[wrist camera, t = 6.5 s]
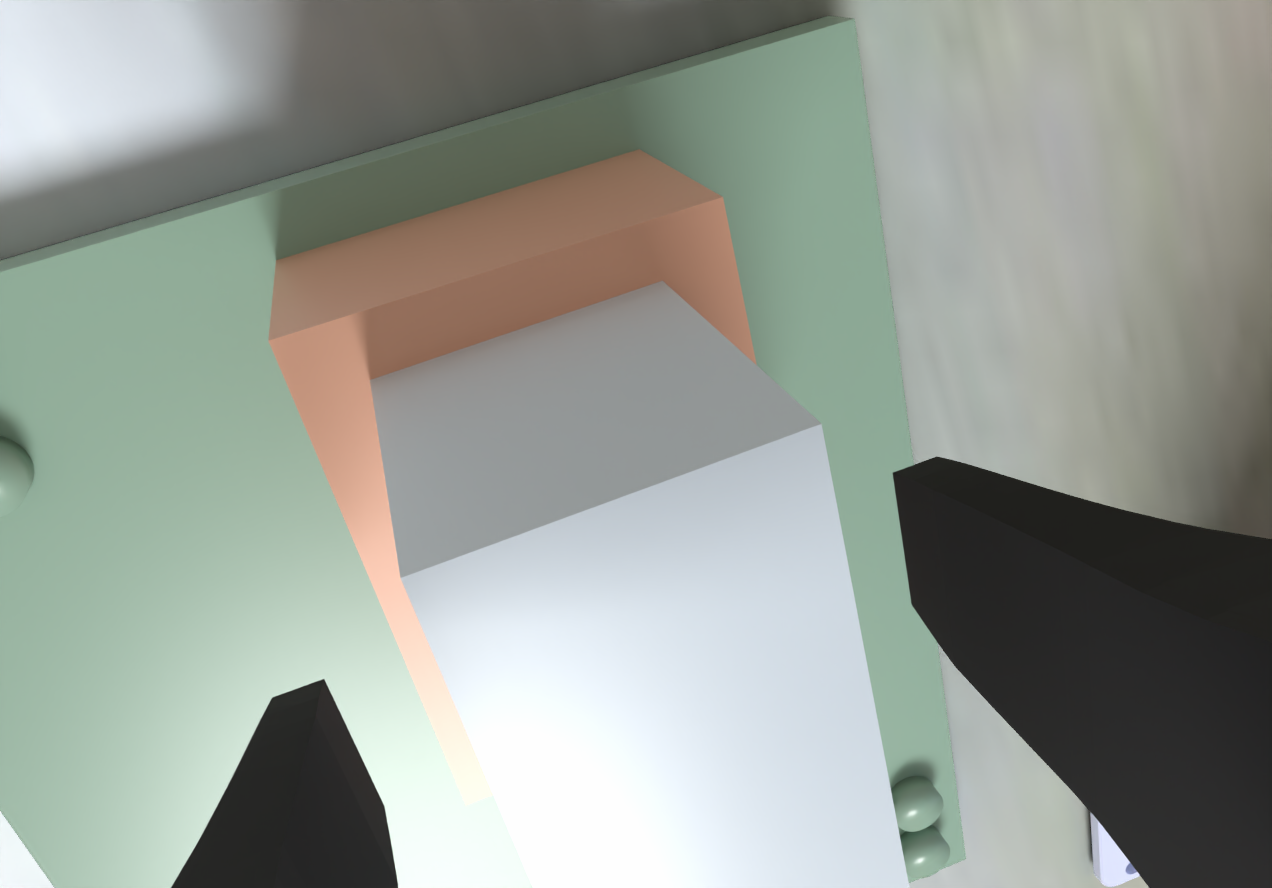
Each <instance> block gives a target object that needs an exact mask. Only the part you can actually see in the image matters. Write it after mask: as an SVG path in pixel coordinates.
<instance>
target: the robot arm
mask: <svg viewBox="0 0 1272 888" xmlns="http://www.w3.org/2000/svg"><path fill="white" fill-rule="evenodd" d="M893 480H894V487H895V494H896V501H897V508H898V514H899V521H900V528H901V535H902V542H903V549H904V556H905V563H906V570H907V577H908V583H909V590H910V597H911V604H912V606H913V608H914V609H915V610H916V612H917V613H918V615H919V616H920V618H921V619H922V621H923V622H924V624H925V625H926V627H927V628H928V629H929V631H930V632H931V634H932V635H933V637H934V638H935V640H936V641H937V642H938V644H939V645H940V646H941V648H942V649H943V651H944V652H945V653H946V655H947V656H948V657H949V659H950V660H951V661H952V663H953V664H954V666H955V667H956V668H957V669H958V670H959V671H960V672H961V673H962V674H963V676H964V677H965V678H966V679H967V680H968V681H969V682H970V683H971V684H972V685H973V686H974V687H975V689H976V690H977V691H978V692H979V693H980V694H981V695H982V696H983V697H984V698H985V699H986V700H987V701H988V703H989V704H990V705H991V706H992V707H993V708H994V709H995V710H996V711H997V712H998V713H999V714H1000V715H1001V716H1002V717H1003V718H1004V720H1005V721H1006V722H1007V723H1008V724H1009V725H1010V726H1011V727H1012V728H1013V729H1014V730H1015V731H1016V732H1017V733H1018V734H1019V735H1020V736H1021V737H1022V738H1023V740H1024V741H1025V742H1026V743H1027V744H1028V745H1029V746H1030V747H1031V748H1032V749H1033V750H1034V751H1035V752H1036V753H1037V754H1038V755H1039V756H1040V757H1041V759H1042V760H1043V761H1044V762H1045V763H1046V764H1047V765H1048V766H1049V767H1050V768H1051V769H1052V770H1053V771H1054V772H1055V773H1056V774H1057V775H1058V776H1059V778H1060V779H1061V780H1062V781H1063V782H1064V783H1065V784H1066V785H1067V786H1068V787H1069V788H1070V789H1071V790H1072V791H1073V792H1074V794H1075V795H1076V796H1077V797H1078V798H1079V799H1080V800H1081V802H1082V803H1083V804H1084V805H1085V806H1086V807H1087V808H1088V810H1089V811H1090V815H1091V833H1092V851H1093V869H1094V874H1095V876H1096V877H1097V878H1098V880H1099V881H1100V882H1101V883H1102V884H1103V885H1105V886H1109V887H1113V886H1117V885H1120V884H1122V883H1124V882H1127V881H1129V880H1131V879H1134V878H1136V877H1138V876H1141V877H1142V879H1143V880H1144V881H1145V883H1146V884H1147V885H1148V886H1149V888H1272V539H1266V538H1259V537H1253V536H1247V535H1241V534H1235V533H1229V532H1223V531H1217V530H1211V529H1206V528H1201V527H1196V526H1191V525H1186V524H1181V523H1176V522H1171V521H1167V520H1163V519H1159V518H1155V517H1150V516H1146V515H1142V514H1138V513H1134V512H1129V511H1125V510H1121V509H1118V508H1114V507H1110V506H1106V505H1103V504H1099V503H1095V502H1092V501H1088V500H1084V499H1081V498H1077V497H1074V496H1070V495H1067V494H1064V493H1060V492H1057V491H1053V490H1050V489H1047V488H1044V487H1040V486H1037V485H1034V484H1030V483H1027V482H1024V481H1021V480H1017V479H1014V478H1011V477H1008V476H1005V475H1001V474H998V473H995V472H992V471H988V470H985V469H982V468H978V467H975V466H972V465H968V464H965V463H961V462H957V461H953V460H949V459H945V458H941V457H935V458H932V459H929V460H926V461H924V462H921V463H918V464H915V465H913V466H910V467H907V468H904V469H901V470H899V471H896V472H893ZM171 888H398V881H397V875H396V869H395V863H394V856H393V850H392V845H391V839H390V834H389V828H388V823H387V817H386V812H385V806H384V804H383V802H382V800H381V798H380V796H379V794H378V791H377V789H376V787H375V785H374V783H373V781H372V779H371V777H370V775H369V772H368V770H367V768H366V766H365V764H364V762H363V760H362V758H361V756H360V753H359V751H358V749H357V747H356V745H355V743H354V741H353V739H352V737H351V734H350V732H349V730H348V728H347V726H346V724H345V722H344V720H343V717H342V715H341V713H340V711H339V709H338V707H337V705H336V703H335V701H334V698H333V696H332V694H331V692H330V690H329V688H328V686H327V684H326V682H325V679H322V680H319V681H316V682H314V683H311V684H308V685H305V686H303V687H300V688H297V689H294V690H292V691H289V692H286V693H283V694H281V695H278V696H275V697H272V699H271V701H270V703H269V704H268V706H267V708H266V710H265V712H264V714H263V716H262V718H261V720H260V721H259V723H258V725H257V727H256V730H255V732H254V734H253V736H252V738H251V740H250V742H249V744H248V746H247V748H246V750H245V752H244V754H243V756H242V758H241V760H240V762H239V764H238V766H237V768H236V770H235V772H234V774H233V776H232V778H231V780H230V782H229V784H228V786H227V788H226V790H225V792H224V794H223V796H222V798H221V799H220V801H219V803H218V805H217V807H216V809H215V811H214V813H213V815H212V816H211V818H210V820H209V822H208V824H207V826H206V828H205V830H204V832H203V833H202V835H201V837H200V839H199V841H198V843H197V844H196V846H195V848H194V850H193V851H192V853H191V855H190V856H189V858H188V860H187V861H186V863H185V865H184V866H183V868H182V870H181V871H180V873H179V875H178V877H177V878H176V880H175V882H174V883H173V885H172V887H171Z"/></svg>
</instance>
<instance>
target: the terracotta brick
mask: <svg viewBox="0 0 1272 888" xmlns="http://www.w3.org/2000/svg"><path fill="white" fill-rule="evenodd" d="M660 281H664V282H665V283H666V284H667V285H668V286H669V287H670V288H671V289H673V290H674V291H675V292H676V293H677V294H678V295H679V296H680V297H681V298H682V299H684V300H685V301H686V302H687V303H688V304H689V305H690V306H691V307H692V308H694V309H695V310H696V311H697V312H698V313H699V314H700V315H701V316H702V317H704V318H705V319H706V320H707V321H708V322H709V323H710V324H711V325H712V326H714V327H715V328H716V329H717V330H718V331H719V332H720V333H721V334H722V335H724V336H725V337H726V338H727V339H728V340H729V341H730V342H731V343H732V344H734V345H735V346H736V347H737V348H738V349H739V350H740V351H741V352H742V353H744V354H745V355H746V356H747V357H748V358H749V359H750V360H751V361H752V362H754V363H755V364H756V359H755V354H754V349H753V344H752V339H751V334H750V329H749V324H748V319H747V314H746V309H745V304H744V299H743V294H742V289H741V284H740V279H739V274H738V269H737V264H736V259H735V254H734V249H733V244H732V239H731V234H730V229H729V224H728V220H727V215H726V210H725V205H724V200H723V197H722V196H720V195H719V194H717V193H715V192H713V191H712V190H710V189H708V188H706V187H705V186H703V185H701V184H699V183H698V182H696V181H694V180H692V179H691V178H689V177H687V176H685V175H684V174H682V173H680V172H678V171H677V170H675V169H673V168H671V167H670V166H668V165H666V164H664V163H663V162H661V161H659V160H657V159H656V158H654V157H652V156H650V155H649V154H647V153H645V152H643V151H642V150H640V149H638V150H635V151H632V152H629V153H625V154H622V155H619V156H615V157H612V158H609V159H606V160H602V161H599V162H596V163H593V164H589V165H586V166H583V167H580V168H576V169H573V170H570V171H566V172H563V173H560V174H557V175H553V176H550V177H547V178H544V179H540V180H537V181H534V182H531V183H527V184H524V185H521V186H517V187H514V188H511V189H508V190H504V191H501V192H498V193H495V194H491V195H488V196H485V197H482V198H478V199H475V200H472V201H468V202H465V203H462V204H459V205H455V206H452V207H449V208H446V209H442V210H439V211H436V212H433V213H429V214H426V215H423V216H419V217H416V218H413V219H410V220H406V221H403V222H400V223H397V224H393V225H390V226H387V227H384V228H380V229H377V230H374V231H370V232H367V233H364V234H361V235H357V236H354V237H351V238H348V239H344V240H341V241H338V242H335V243H331V244H328V245H325V246H321V247H318V248H315V249H312V250H308V251H305V252H302V253H299V254H295V255H292V256H289V257H285V258H282V259H279V260H276V265H275V275H274V286H273V297H272V307H271V318H270V328H269V339H268V341H269V344H270V346H271V348H272V351H273V353H274V355H275V358H276V360H277V362H278V365H279V367H280V370H281V372H282V374H283V377H284V379H285V381H286V384H287V386H288V388H289V391H290V393H291V395H292V398H293V400H294V402H295V405H296V407H297V409H298V412H299V414H300V417H301V419H302V421H303V424H304V426H305V428H306V431H307V433H308V435H309V438H310V440H311V442H312V445H313V447H314V449H315V452H316V454H317V456H318V459H319V461H320V464H321V466H322V468H323V471H324V473H325V475H326V478H327V480H328V482H329V485H330V487H331V489H332V492H333V494H334V496H335V499H336V501H337V503H338V506H339V508H340V511H341V513H342V515H343V518H344V520H345V522H346V525H347V527H348V529H349V532H350V534H351V536H352V539H353V541H354V543H355V546H356V548H357V550H358V553H359V555H360V558H361V560H362V562H363V565H364V567H365V569H366V572H367V574H368V576H369V579H370V581H371V583H372V586H373V588H374V590H375V593H376V595H377V597H378V600H379V602H380V605H381V607H382V609H383V612H384V614H385V616H386V619H387V621H388V623H389V626H390V628H391V630H392V633H393V635H394V637H395V640H396V642H397V644H398V647H399V649H400V652H401V654H402V656H403V659H404V661H405V663H406V666H407V668H408V670H409V673H410V675H411V677H412V680H413V682H414V684H415V687H416V689H417V691H418V694H419V696H420V699H421V701H422V703H423V706H424V708H425V710H426V713H427V715H428V717H429V720H430V722H431V724H432V727H433V729H434V731H435V734H436V736H437V738H438V741H439V743H440V746H441V748H442V750H443V753H444V755H445V757H446V760H447V762H448V764H449V767H450V769H451V771H452V774H453V776H454V778H455V781H456V783H457V785H458V788H459V790H460V793H461V795H462V797H463V800H464V802H465V804H466V805H468V804H471V803H473V802H476V801H478V800H481V799H483V798H486V797H489V796H491V795H493V793H492V791H491V789H490V786H489V784H488V782H487V779H486V777H485V775H484V772H483V770H482V768H481V765H480V763H479V761H478V758H477V756H476V754H475V751H474V749H473V747H472V744H471V742H470V740H469V737H468V735H467V733H466V730H465V728H464V726H463V723H462V721H461V718H460V716H459V714H458V711H457V709H456V707H455V704H454V702H453V700H452V697H451V695H450V693H449V690H448V688H447V686H446V683H445V681H444V679H443V676H442V674H441V672H440V669H439V667H438V665H437V662H436V660H435V658H434V655H433V653H432V651H431V648H430V646H429V644H428V641H427V639H426V637H425V634H424V632H423V630H422V627H421V625H420V623H419V620H418V618H417V616H416V613H415V611H414V609H413V606H412V604H411V602H410V599H409V597H408V595H407V592H406V590H405V588H404V585H403V583H402V581H401V578H400V572H399V565H398V559H397V552H396V546H395V540H394V533H393V527H392V520H391V514H390V507H389V501H388V494H387V488H386V481H385V475H384V468H383V462H382V455H381V449H380V443H379V436H378V430H377V423H376V417H375V410H374V404H373V397H372V391H371V384H370V380H371V379H374V378H377V377H380V376H383V375H386V374H389V373H392V372H395V371H398V370H401V369H404V368H407V367H410V366H413V365H416V364H419V363H422V362H424V361H427V360H430V359H433V358H436V357H439V356H442V355H445V354H448V353H451V352H454V351H457V350H460V349H463V348H466V347H469V346H472V345H475V344H477V343H480V342H483V341H486V340H489V339H492V338H495V337H498V336H501V335H504V334H507V333H510V332H513V331H516V330H519V329H522V328H525V327H527V326H530V325H533V324H536V323H539V322H542V321H545V320H548V319H551V318H554V317H557V316H560V315H563V314H566V313H569V312H572V311H575V310H578V309H580V308H583V307H586V306H589V305H592V304H595V303H598V302H601V301H604V300H607V299H610V298H613V297H616V296H619V295H622V294H625V293H628V292H631V291H633V290H636V289H639V288H642V287H645V286H648V285H651V284H654V283H657V282H660ZM756 365H757V364H756Z"/></svg>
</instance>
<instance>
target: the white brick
mask: <svg viewBox="0 0 1272 888" xmlns="http://www.w3.org/2000/svg"><path fill="white" fill-rule="evenodd" d="M370 384H371V391H372V397H373V404H374V410H375V417H376V423H377V430H378V436H379V443H380V449H381V455H382V462H383V468H384V475H385V481H386V488H387V494H388V501H389V507H390V514H391V520H392V527H393V533H394V540H395V546H396V552H397V559H398V565H399V572H400V578H401V581H402V583H403V585H404V588H405V590H406V592H407V595H408V597H409V599H410V602H411V604H412V606H413V609H414V611H415V613H416V616H417V618H418V620H419V623H420V625H421V627H422V630H423V632H424V634H425V637H426V639H427V641H428V644H429V646H430V648H431V651H432V653H433V655H434V658H435V660H436V662H437V665H438V667H439V669H440V672H441V674H442V676H443V679H444V681H445V683H446V686H447V688H448V690H449V693H450V695H451V697H452V700H453V702H454V704H455V707H456V709H457V711H458V714H459V716H460V718H461V721H462V723H463V726H464V728H465V730H466V733H467V735H468V737H469V740H470V742H471V744H472V747H473V749H474V751H475V754H476V756H477V758H478V761H479V763H480V765H481V768H482V770H483V772H484V775H485V777H486V779H487V782H488V784H489V786H490V789H491V791H492V793H493V796H494V798H495V800H496V803H497V805H498V807H499V810H500V812H501V814H502V817H503V819H504V821H505V824H506V826H507V828H508V831H509V833H510V835H511V838H512V840H513V842H514V845H515V847H516V849H517V852H518V854H519V856H520V859H521V861H522V863H523V866H524V868H525V870H526V873H527V875H528V877H529V880H530V882H531V885H532V887H533V888H910V887H909V882H908V877H907V872H906V866H905V861H904V856H903V851H902V845H901V840H900V835H899V829H898V824H897V819H896V814H895V808H894V803H893V798H892V793H891V787H890V782H889V777H888V771H887V766H886V761H885V756H884V750H883V745H882V740H881V735H880V729H879V724H878V719H877V713H876V708H875V703H874V698H873V692H872V687H871V682H870V677H869V671H868V666H867V661H866V655H865V650H864V645H863V640H862V634H861V629H860V624H859V619H858V613H857V608H856V603H855V597H854V592H853V587H852V582H851V576H850V571H849V566H848V561H847V555H846V550H845V545H844V539H843V534H842V529H841V524H840V518H839V513H838V508H837V503H836V497H835V492H834V487H833V481H832V476H831V471H830V466H829V460H828V455H827V450H826V445H825V439H824V434H823V429H822V424H821V423H820V422H819V421H818V420H817V419H816V418H815V417H814V416H812V415H811V414H810V413H809V412H808V411H807V410H806V409H805V408H804V407H802V406H801V405H800V404H799V403H798V402H797V401H796V400H795V399H794V398H792V397H791V396H790V395H789V394H788V393H787V392H786V391H785V390H784V389H782V388H781V387H780V386H779V385H778V384H777V383H776V382H775V381H774V380H772V379H771V378H770V377H769V376H768V375H767V374H766V373H765V372H764V371H762V370H761V369H760V368H759V367H758V366H757V365H756V364H755V363H754V362H752V361H751V360H750V359H749V358H748V357H747V356H746V355H745V354H744V353H742V352H741V351H740V350H739V349H738V348H737V347H736V346H735V345H734V344H732V343H731V342H730V341H729V340H728V339H727V338H726V337H725V336H724V335H722V334H721V333H720V332H719V331H718V330H717V329H716V328H715V327H714V326H712V325H711V324H710V323H709V322H708V321H707V320H706V319H705V318H704V317H702V316H701V315H700V314H699V313H698V312H697V311H696V310H695V309H694V308H692V307H691V306H690V305H689V304H688V303H687V302H686V301H685V300H684V299H682V298H681V297H680V296H679V295H678V294H677V293H676V292H675V291H674V290H673V289H671V288H670V287H669V286H668V285H667V284H666V283H665V282H664V281H660V282H657V283H654V284H651V285H648V286H645V287H642V288H639V289H636V290H633V291H631V292H628V293H625V294H622V295H619V296H616V297H613V298H610V299H607V300H604V301H601V302H598V303H595V304H592V305H589V306H586V307H583V308H580V309H578V310H575V311H572V312H569V313H566V314H563V315H560V316H557V317H554V318H551V319H548V320H545V321H542V322H539V323H536V324H533V325H530V326H527V327H525V328H522V329H519V330H516V331H513V332H510V333H507V334H504V335H501V336H498V337H495V338H492V339H489V340H486V341H483V342H480V343H477V344H475V345H472V346H469V347H466V348H463V349H460V350H457V351H454V352H451V353H448V354H445V355H442V356H439V357H436V358H433V359H430V360H427V361H424V362H422V363H419V364H416V365H413V366H410V367H407V368H404V369H401V370H398V371H395V372H392V373H389V374H386V375H383V376H380V377H377V378H374V379H371V380H370Z"/></svg>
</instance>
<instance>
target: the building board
mask: <svg viewBox="0 0 1272 888" xmlns="http://www.w3.org/2000/svg"><path fill="white" fill-rule="evenodd" d="M638 149H640V150H642V151H643V152H645V153H647V154H649V155H650V156H652V157H654V158H656V159H657V160H659V161H661V162H663V163H664V164H666V165H668V166H670V167H671V168H673V169H675V170H677V171H678V172H680V173H682V174H684V175H685V176H687V177H689V178H691V179H692V180H694V181H696V182H698V183H699V184H701V185H703V186H705V187H706V188H708V189H710V190H712V191H713V192H715V193H717V194H719V195H720V196H722V197H723V200H724V205H725V210H726V215H727V220H728V224H729V229H730V234H731V239H732V244H733V249H734V254H735V259H736V264H737V269H738V274H739V279H740V284H741V289H742V294H743V299H744V304H745V309H746V314H747V319H748V324H749V329H750V334H751V339H752V344H753V349H754V354H755V359H756V364H757V366H758V367H759V368H760V369H761V370H762V371H764V372H765V373H766V374H767V375H768V376H769V377H770V378H771V379H772V380H774V381H775V382H776V383H777V384H778V385H779V386H780V387H781V388H782V389H784V390H785V391H786V392H787V393H788V394H789V395H790V396H791V397H792V398H794V399H795V400H796V401H797V402H798V403H799V404H800V405H801V406H802V407H804V408H805V409H806V410H807V411H808V412H809V413H810V414H811V415H812V416H814V417H815V418H816V419H817V420H818V421H819V422H820V423H821V424H822V429H823V434H824V439H825V445H826V450H827V455H828V460H829V466H830V471H831V476H832V481H833V487H834V492H835V497H836V503H837V508H838V513H839V518H840V524H841V529H842V534H843V539H844V545H845V550H846V555H847V561H848V566H849V571H850V576H851V582H852V587H853V592H854V597H855V603H856V608H857V613H858V619H859V624H860V629H861V634H862V640H863V645H864V650H865V655H866V661H867V666H868V671H869V677H870V682H871V687H872V692H873V698H874V703H875V708H876V713H877V719H878V724H879V729H880V735H881V740H882V745H883V750H884V756H885V761H886V766H887V771H888V777H889V782H890V787H891V793H892V798H893V803H894V808H895V814H896V819H897V824H898V829H899V835H900V840H901V845H902V851H903V856H904V861H905V866H906V872H907V877H908V882H909V883H910V882H913V881H915V880H918V879H920V878H926V877H929V876H931V875H933V874H935V873H937V872H938V871H939V870H941V869H943V868H946V867H948V866H951V865H953V864H955V863H958V862H960V861H962V860H965V859H966V855H965V848H964V840H963V832H962V825H961V817H960V810H959V802H958V795H957V787H956V780H955V772H954V765H953V757H952V750H951V742H950V734H949V727H948V719H947V712H946V704H945V697H944V689H943V682H942V674H941V667H940V659H939V652H938V644H937V641H936V640H935V638H934V637H933V635H932V634H931V632H930V631H929V629H928V628H927V627H926V625H925V624H924V622H923V621H922V619H921V618H920V616H919V615H918V613H917V612H916V610H915V609H914V608H913V606H912V604H911V597H910V590H909V583H908V577H907V570H906V563H905V556H904V549H903V542H902V535H901V528H900V521H899V514H898V508H897V501H896V494H895V487H894V480H893V472H896V471H899V470H901V469H904V468H907V467H910V466H913V465H914V463H913V456H912V448H911V441H910V433H909V426H908V418H907V410H906V403H905V395H904V388H903V380H902V373H901V365H900V358H899V350H898V343H897V335H896V328H895V320H894V312H893V305H892V297H891V290H890V282H889V275H888V267H887V260H886V252H885V245H884V237H883V230H882V222H881V215H880V207H879V199H878V192H877V184H876V177H875V169H874V162H873V154H872V147H871V139H870V132H869V124H868V117H867V109H866V101H865V94H864V86H863V79H862V71H861V64H860V56H859V49H858V41H857V34H856V26H855V19H852V18H843V17H834V16H826V17H823V18H820V19H816V20H813V21H809V22H806V23H803V24H799V25H796V26H792V27H789V28H786V29H782V30H779V31H776V32H772V33H769V34H765V35H762V36H759V37H755V38H752V39H748V40H745V41H742V42H738V43H735V44H732V45H728V46H725V47H721V48H718V49H715V50H711V51H708V52H704V53H701V54H698V55H694V56H691V57H688V58H684V59H681V60H677V61H674V62H671V63H667V64H664V65H660V66H657V67H654V68H650V69H647V70H643V71H640V72H637V73H633V74H630V75H627V76H623V77H620V78H616V79H613V80H610V81H606V82H603V83H599V84H596V85H593V86H589V87H586V88H583V89H579V90H576V91H572V92H569V93H566V94H562V95H559V96H555V97H552V98H549V99H545V100H542V101H539V102H535V103H532V104H528V105H525V106H522V107H518V108H515V109H511V110H508V111H505V112H501V113H498V114H495V115H491V116H488V117H484V118H481V119H478V120H474V121H471V122H467V123H464V124H461V125H457V126H454V127H450V128H447V129H444V130H440V131H437V132H434V133H430V134H427V135H423V136H420V137H417V138H413V139H410V140H406V141H403V142H400V143H396V144H393V145H390V146H386V147H383V148H379V149H376V150H373V151H369V152H366V153H362V154H359V155H356V156H352V157H349V158H346V159H342V160H339V161H335V162H332V163H329V164H325V165H322V166H318V167H315V168H312V169H308V170H305V171H302V172H298V173H295V174H291V175H288V176H285V177H281V178H278V179H274V180H271V181H268V182H264V183H261V184H258V185H254V186H251V187H247V188H244V189H241V190H237V191H234V192H230V193H227V194H224V195H220V196H217V197H213V198H210V199H207V200H203V201H200V202H197V203H193V204H190V205H186V206H183V207H180V208H176V209H173V210H169V211H166V212H163V213H159V214H156V215H153V216H149V217H146V218H142V219H139V220H136V221H132V222H129V223H125V224H122V225H119V226H115V227H112V228H109V229H105V230H102V231H98V232H95V233H92V234H88V235H85V236H81V237H78V238H75V239H71V240H68V241H64V242H61V243H58V244H54V245H51V246H48V247H44V248H41V249H37V250H34V251H31V252H27V253H24V254H20V255H17V256H14V257H10V258H7V259H4V260H0V811H1V812H2V814H3V815H4V817H5V818H6V820H7V821H8V822H9V824H10V825H11V827H12V828H13V829H14V831H15V832H16V834H17V835H18V837H19V838H20V839H21V841H22V842H23V844H24V845H25V846H26V848H27V849H28V851H29V852H30V854H31V855H32V856H33V858H34V859H35V861H36V862H37V864H38V865H39V866H40V868H41V869H42V871H43V872H44V873H45V875H46V876H47V878H48V879H49V881H50V882H51V883H52V885H53V886H54V888H171V887H172V885H173V883H174V882H175V880H176V878H177V877H178V875H179V873H180V871H181V870H182V868H183V866H184V865H185V863H186V861H187V860H188V858H189V856H190V855H191V853H192V851H193V850H194V848H195V846H196V844H197V843H198V841H199V839H200V837H201V835H202V833H203V832H204V830H205V828H206V826H207V824H208V822H209V820H210V818H211V816H212V815H213V813H214V811H215V809H216V807H217V805H218V803H219V801H220V799H221V798H222V796H223V794H224V792H225V790H226V788H227V786H228V784H229V782H230V780H231V778H232V776H233V774H234V772H235V770H236V768H237V766H238V764H239V762H240V760H241V758H242V756H243V754H244V752H245V750H246V748H247V746H248V744H249V742H250V740H251V738H252V736H253V734H254V732H255V730H256V727H257V725H258V723H259V721H260V720H261V718H262V716H263V714H264V712H265V710H266V708H267V706H268V704H269V703H270V701H271V699H272V697H275V696H278V695H281V694H283V693H286V692H289V691H292V690H294V689H297V688H300V687H303V686H305V685H308V684H311V683H314V682H316V681H319V680H322V679H325V682H326V684H327V686H328V688H329V690H330V692H331V694H332V696H333V698H334V701H335V703H336V705H337V707H338V709H339V711H340V713H341V715H342V717H343V720H344V722H345V724H346V726H347V728H348V730H349V732H350V734H351V737H352V739H353V741H354V743H355V745H356V747H357V749H358V751H359V753H360V756H361V758H362V760H363V762H364V764H365V766H366V768H367V770H368V772H369V775H370V777H371V779H372V781H373V783H374V785H375V787H376V789H377V791H378V794H379V796H380V798H381V800H382V802H383V804H384V806H385V812H386V817H387V823H388V828H389V834H390V839H391V845H392V850H393V856H394V863H395V869H396V875H397V881H398V888H533V887H532V885H531V882H530V880H529V877H528V875H527V873H526V870H525V868H524V866H523V863H522V861H521V859H520V856H519V854H518V852H517V849H516V847H515V845H514V842H513V840H512V838H511V835H510V833H509V831H508V828H507V826H506V824H505V821H504V819H503V817H502V814H501V812H500V810H499V807H498V805H497V803H496V800H495V798H494V796H493V795H491V796H489V797H486V798H483V799H481V800H478V801H476V802H473V803H471V804H468V805H466V804H465V802H464V800H463V797H462V795H461V793H460V790H459V788H458V785H457V783H456V781H455V778H454V776H453V774H452V771H451V769H450V767H449V764H448V762H447V760H446V757H445V755H444V753H443V750H442V748H441V746H440V743H439V741H438V738H437V736H436V734H435V731H434V729H433V727H432V724H431V722H430V720H429V717H428V715H427V713H426V710H425V708H424V706H423V703H422V701H421V699H420V696H419V694H418V691H417V689H416V687H415V684H414V682H413V680H412V677H411V675H410V673H409V670H408V668H407V666H406V663H405V661H404V659H403V656H402V654H401V652H400V649H399V647H398V644H397V642H396V640H395V637H394V635H393V633H392V630H391V628H390V626H389V623H388V621H387V619H386V616H385V614H384V612H383V609H382V607H381V605H380V602H379V600H378V597H377V595H376V593H375V590H374V588H373V586H372V583H371V581H370V579H369V576H368V574H367V572H366V569H365V567H364V565H363V562H362V560H361V558H360V555H359V553H358V550H357V548H356V546H355V543H354V541H353V539H352V536H351V534H350V532H349V529H348V527H347V525H346V522H345V520H344V518H343V515H342V513H341V511H340V508H339V506H338V503H337V501H336V499H335V496H334V494H333V492H332V489H331V487H330V485H329V482H328V480H327V478H326V475H325V473H324V471H323V468H322V466H321V464H320V461H319V459H318V456H317V454H316V452H315V449H314V447H313V445H312V442H311V440H310V438H309V435H308V433H307V431H306V428H305V426H304V424H303V421H302V419H301V417H300V414H299V412H298V409H297V407H296V405H295V402H294V400H293V398H292V395H291V393H290V391H289V388H288V386H287V384H286V381H285V379H284V377H283V374H282V372H281V370H280V367H279V365H278V362H277V360H276V358H275V355H274V353H273V351H272V348H271V346H270V344H269V341H268V339H269V328H270V318H271V307H272V297H273V286H274V275H275V265H276V260H279V259H282V258H285V257H289V256H292V255H295V254H299V253H302V252H305V251H308V250H312V249H315V248H318V247H321V246H325V245H328V244H331V243H335V242H338V241H341V240H344V239H348V238H351V237H354V236H357V235H361V234H364V233H367V232H370V231H374V230H377V229H380V228H384V227H387V226H390V225H393V224H397V223H400V222H403V221H406V220H410V219H413V218H416V217H419V216H423V215H426V214H429V213H433V212H436V211H439V210H442V209H446V208H449V207H452V206H455V205H459V204H462V203H465V202H468V201H472V200H475V199H478V198H482V197H485V196H488V195H491V194H495V193H498V192H501V191H504V190H508V189H511V188H514V187H517V186H521V185H524V184H527V183H531V182H534V181H537V180H540V179H544V178H547V177H550V176H553V175H557V174H560V173H563V172H566V171H570V170H573V169H576V168H580V167H583V166H586V165H589V164H593V163H596V162H599V161H602V160H606V159H609V158H612V157H615V156H619V155H622V154H625V153H629V152H632V151H635V150H638Z"/></svg>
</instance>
